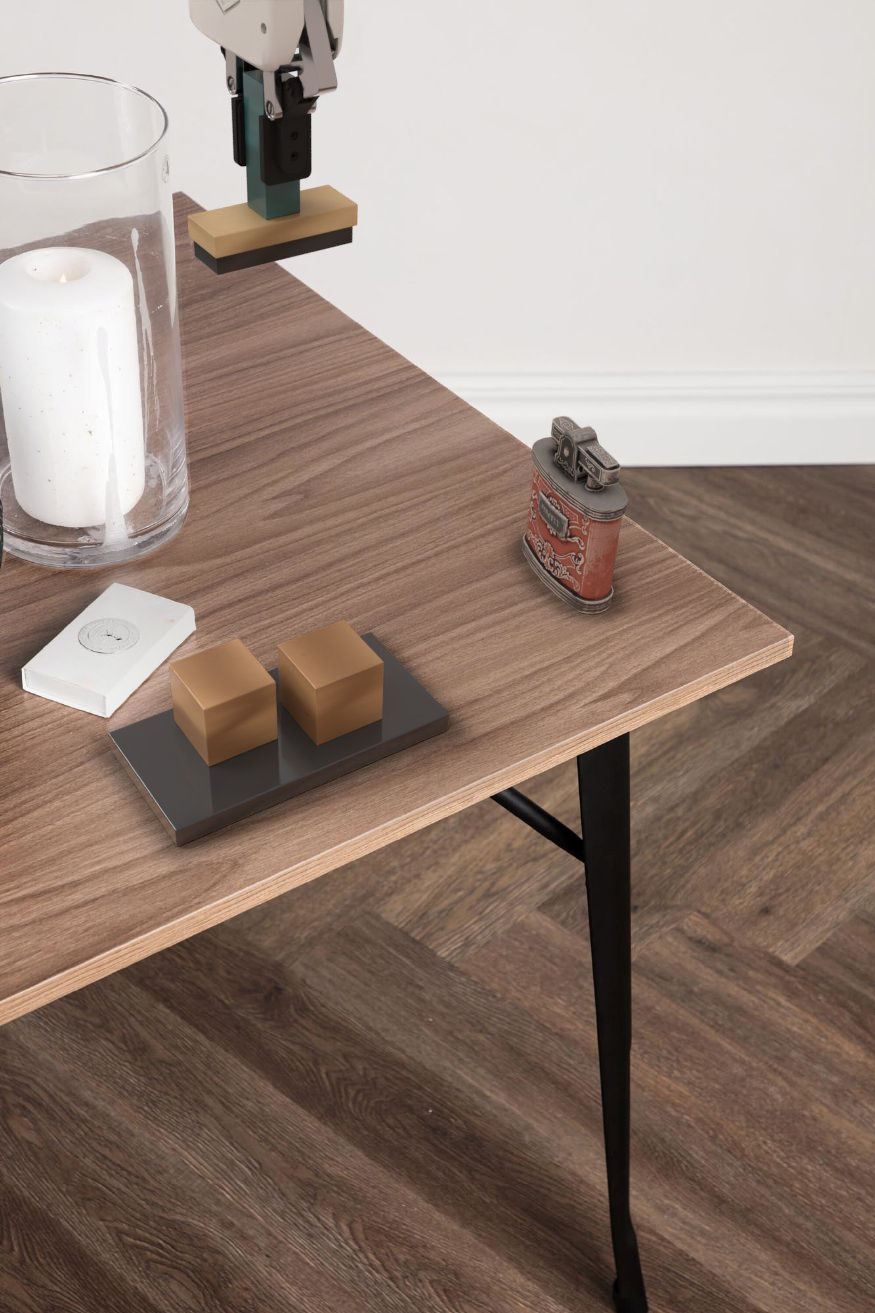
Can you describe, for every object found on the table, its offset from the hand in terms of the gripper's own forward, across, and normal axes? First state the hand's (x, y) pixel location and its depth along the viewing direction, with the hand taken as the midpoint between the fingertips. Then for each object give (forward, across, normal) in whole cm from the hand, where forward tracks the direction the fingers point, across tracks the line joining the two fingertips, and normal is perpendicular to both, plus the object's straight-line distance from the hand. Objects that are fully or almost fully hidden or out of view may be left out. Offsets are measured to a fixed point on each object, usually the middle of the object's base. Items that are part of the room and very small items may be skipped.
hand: (272, 168), depth 85 cm
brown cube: (+18, +26, -12) cm, 34 cm away
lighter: (+19, +22, +7) cm, 30 cm away
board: (+19, +26, -15) cm, 35 cm away
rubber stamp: (+5, 0, 0) cm, 5 cm away
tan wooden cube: (+18, +24, -17) cm, 35 cm away
